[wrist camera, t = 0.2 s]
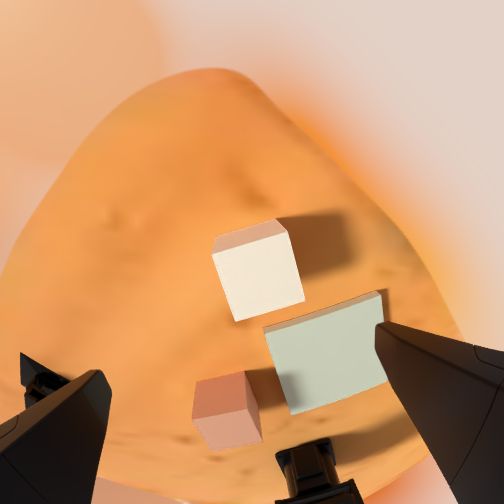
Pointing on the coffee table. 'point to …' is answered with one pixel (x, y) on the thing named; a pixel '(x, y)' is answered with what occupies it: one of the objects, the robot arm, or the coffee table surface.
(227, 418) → the terracotta brick
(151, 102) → the coffee table surface
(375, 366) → the plate
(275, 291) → the cream brick
